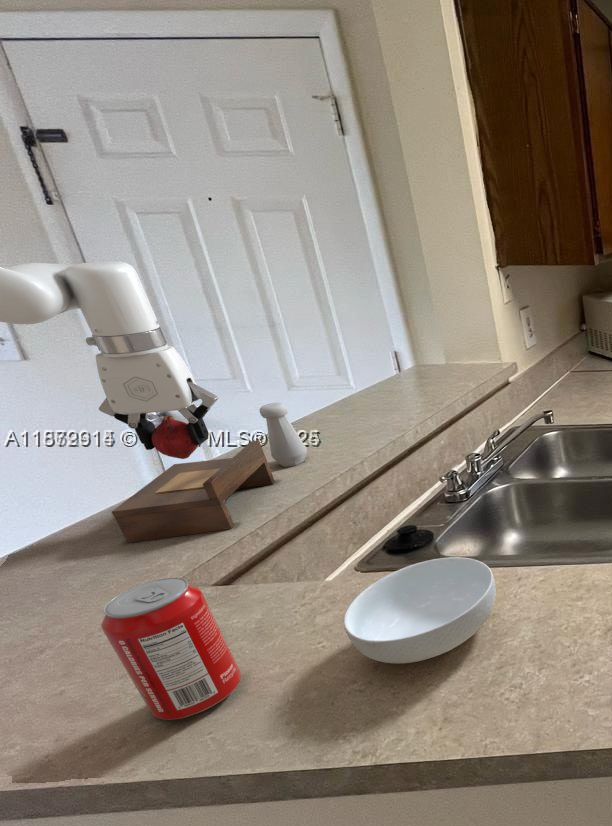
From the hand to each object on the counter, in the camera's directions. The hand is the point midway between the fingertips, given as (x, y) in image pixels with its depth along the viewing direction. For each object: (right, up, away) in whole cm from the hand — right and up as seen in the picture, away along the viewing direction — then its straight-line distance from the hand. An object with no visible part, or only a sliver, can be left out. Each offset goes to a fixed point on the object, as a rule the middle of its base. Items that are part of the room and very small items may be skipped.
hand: (178, 443), depth 105 cm
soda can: (+37, -30, -33) cm, 58 cm away
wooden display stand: (0, -12, +5) cm, 13 cm away
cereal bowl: (+58, -26, -23) cm, 68 cm away
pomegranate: (0, -3, +1) cm, 3 cm away
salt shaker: (+1, -4, +23) cm, 24 cm away
